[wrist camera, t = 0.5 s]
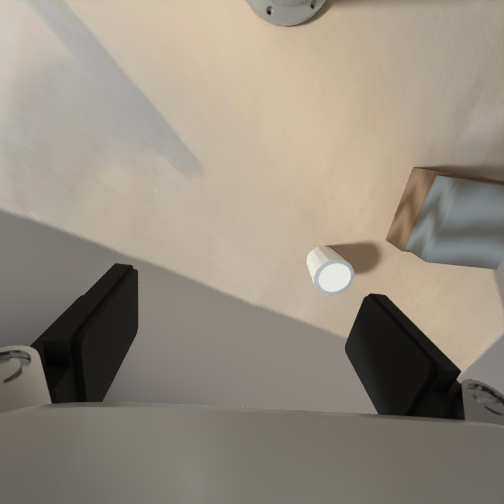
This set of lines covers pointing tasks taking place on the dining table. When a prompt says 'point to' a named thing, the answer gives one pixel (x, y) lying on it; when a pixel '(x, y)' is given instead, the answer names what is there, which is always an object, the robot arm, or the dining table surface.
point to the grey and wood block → (451, 219)
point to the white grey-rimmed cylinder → (329, 271)
